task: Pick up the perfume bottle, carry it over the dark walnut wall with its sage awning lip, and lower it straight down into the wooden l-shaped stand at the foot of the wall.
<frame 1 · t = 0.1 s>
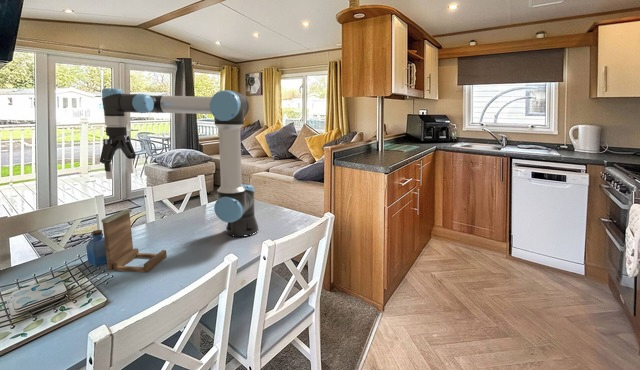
hand: (120, 175, 147), 28 cm above the table, fingers open, 13 cm apart
perfume bottle: (101, 261, 128), on the table
wooden l-shaped stand: (141, 263, 127), on the table
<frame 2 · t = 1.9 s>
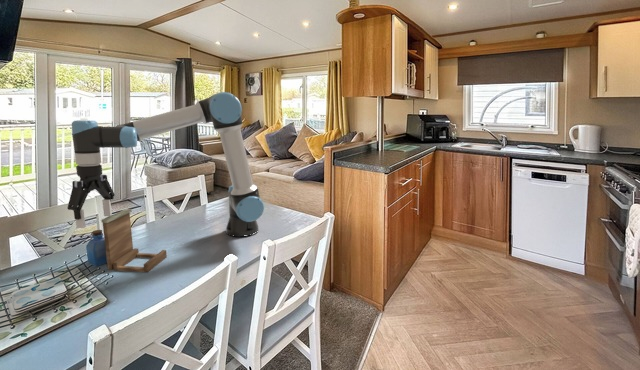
hand: (95, 221, 124), 16 cm above the table, fingers open, 13 cm apart
nothing on the table moved.
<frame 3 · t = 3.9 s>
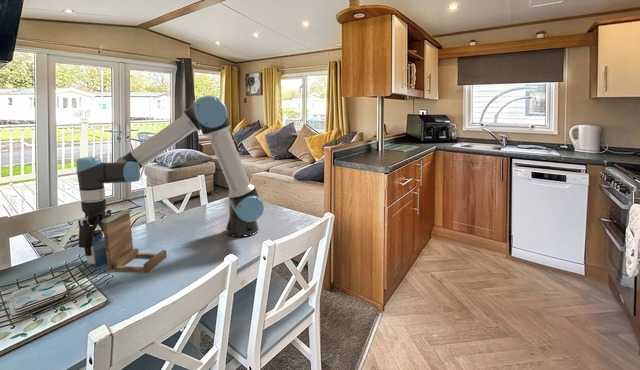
hand: (100, 257, 127), 1 cm above the table, fingers closed on perfume bottle, 8 cm apart
perfume bottle: (101, 261, 128), on the table, touching gripper
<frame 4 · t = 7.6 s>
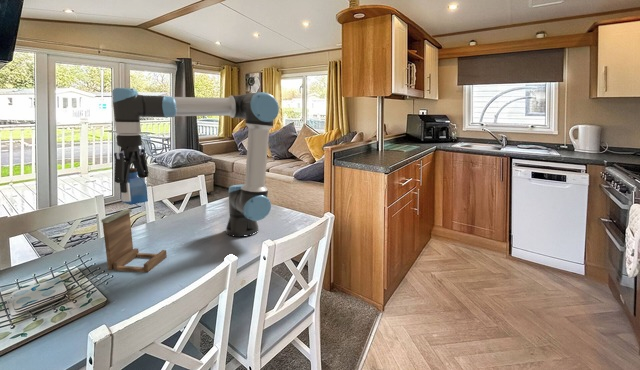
hand: (134, 197, 121), 25 cm above the table, fingers closed on perfume bottle, 8 cm apart
perfume bottle: (134, 202, 121), point 24 cm above the table, touching gripper
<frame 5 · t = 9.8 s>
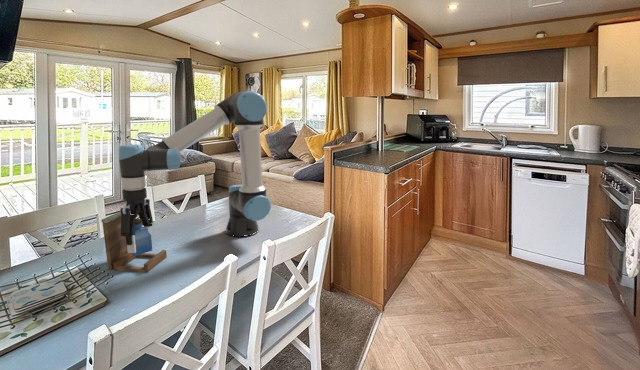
hand: (139, 247, 125), 6 cm above the table, fingers closed on perfume bottle, 8 cm apart
perfume bottle: (139, 251, 125), point 5 cm above the table, touching gripper
when the fingers open (3 cm above the table, at t = 11.3 s): perfume bottle drops 2 cm, resting in wooden l-shaped stand.
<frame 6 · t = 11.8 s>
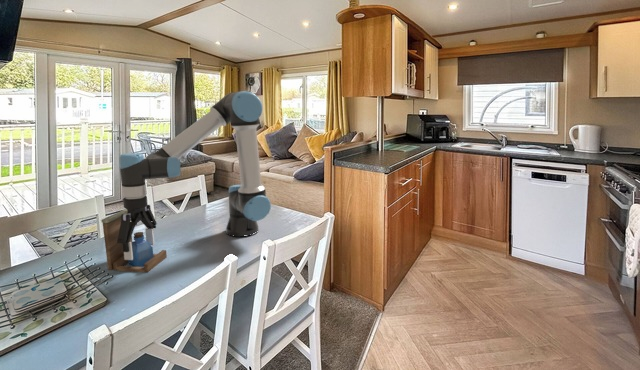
hand: (140, 251, 126), 5 cm above the table, fingers open, 13 cm apart
perfume bottle: (141, 264, 127), resting in wooden l-shaped stand
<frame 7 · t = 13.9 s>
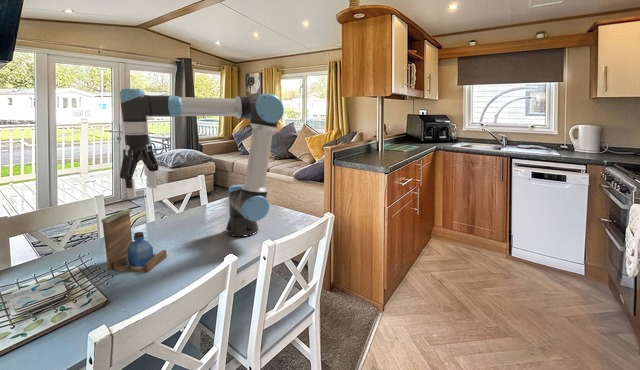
hand: (143, 192, 124), 27 cm above the table, fingers open, 13 cm apart
nothing on the table moved.
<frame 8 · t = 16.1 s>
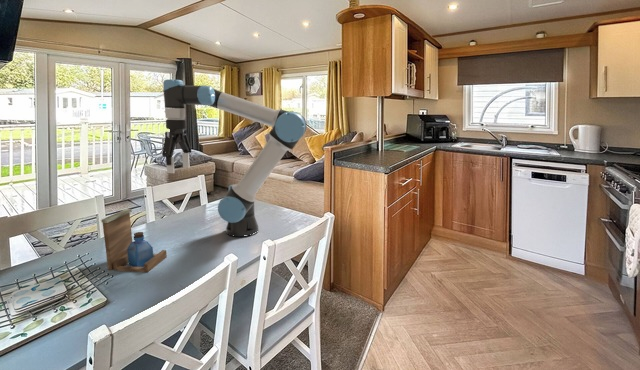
hand: (179, 170, 142), 32 cm above the table, fingers open, 13 cm apart
nothing on the table moved.
at the end: perfume bottle 0.0 cm off-centre on the wooden l-shaped stand, point 0.0 cm above the wooden l-shaped stand's base; perfume bottle tilted 0°; the gripper is holding nothing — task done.
